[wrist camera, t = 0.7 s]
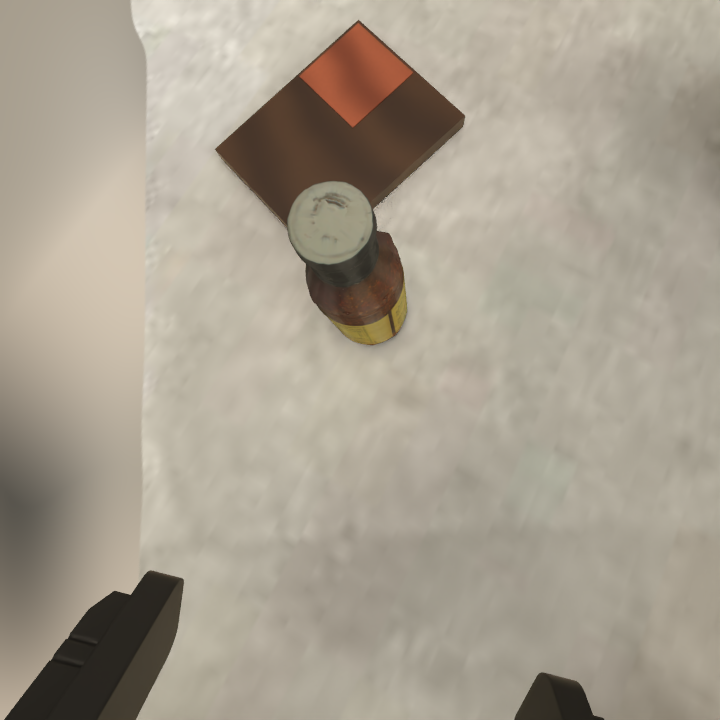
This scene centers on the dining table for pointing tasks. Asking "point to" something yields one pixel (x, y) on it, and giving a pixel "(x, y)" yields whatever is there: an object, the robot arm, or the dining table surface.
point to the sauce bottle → (348, 262)
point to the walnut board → (342, 125)
